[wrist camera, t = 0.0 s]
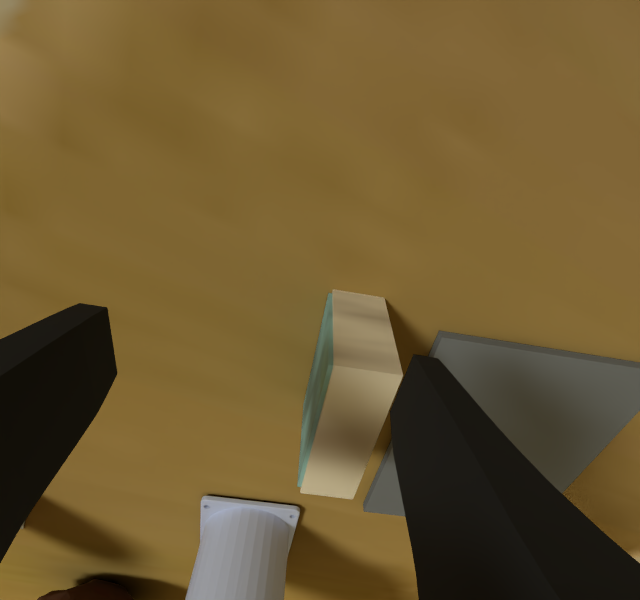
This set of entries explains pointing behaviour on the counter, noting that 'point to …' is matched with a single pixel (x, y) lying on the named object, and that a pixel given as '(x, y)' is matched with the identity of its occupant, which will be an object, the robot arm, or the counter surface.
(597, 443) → the mat
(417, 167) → the counter surface
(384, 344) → the tile
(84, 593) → the butternut squash
